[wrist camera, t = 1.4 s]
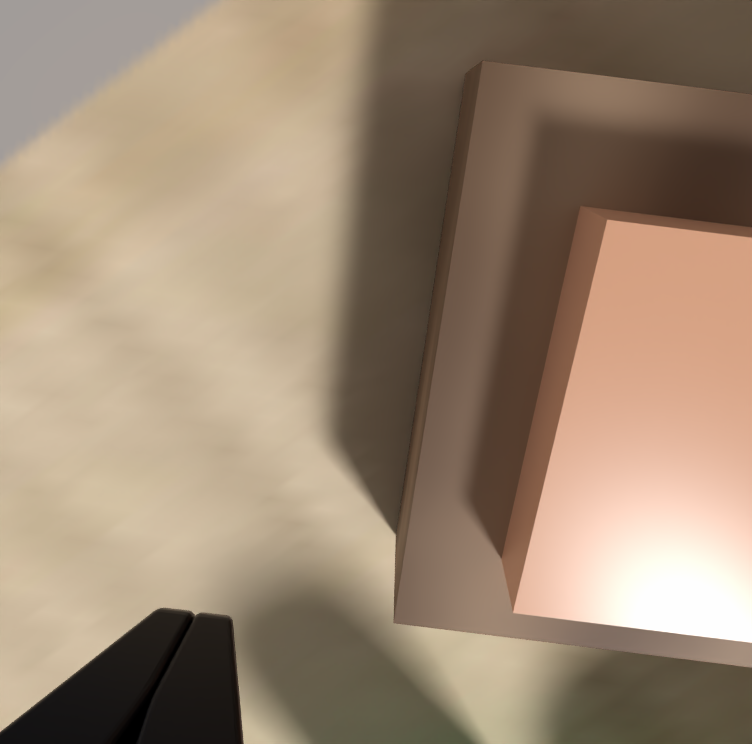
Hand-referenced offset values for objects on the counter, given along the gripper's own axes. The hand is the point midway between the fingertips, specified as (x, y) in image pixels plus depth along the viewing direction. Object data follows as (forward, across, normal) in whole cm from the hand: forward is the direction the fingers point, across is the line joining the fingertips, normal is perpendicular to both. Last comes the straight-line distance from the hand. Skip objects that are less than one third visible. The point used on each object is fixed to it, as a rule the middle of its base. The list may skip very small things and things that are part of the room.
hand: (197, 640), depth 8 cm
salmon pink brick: (+8, -8, 0) cm, 12 cm away
